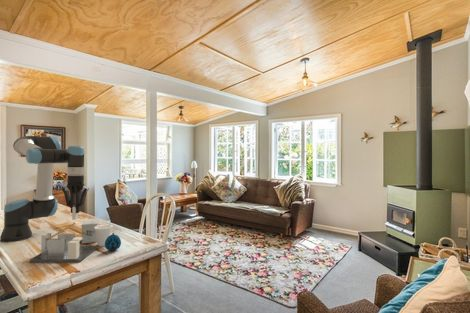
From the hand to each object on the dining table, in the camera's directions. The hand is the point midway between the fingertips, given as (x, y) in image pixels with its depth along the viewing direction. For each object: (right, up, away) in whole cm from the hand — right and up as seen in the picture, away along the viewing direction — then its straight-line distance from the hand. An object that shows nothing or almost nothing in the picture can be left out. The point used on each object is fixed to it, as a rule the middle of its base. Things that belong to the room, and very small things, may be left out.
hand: (75, 218), depth 136 cm
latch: (+3, -18, -5) cm, 19 cm away
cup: (+7, -20, +16) cm, 26 cm away
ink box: (-5, -19, +22) cm, 30 cm away
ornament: (+17, -20, +8) cm, 27 cm away
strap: (-7, -7, 0) cm, 10 cm away
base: (-5, -19, 0) cm, 20 cm away
